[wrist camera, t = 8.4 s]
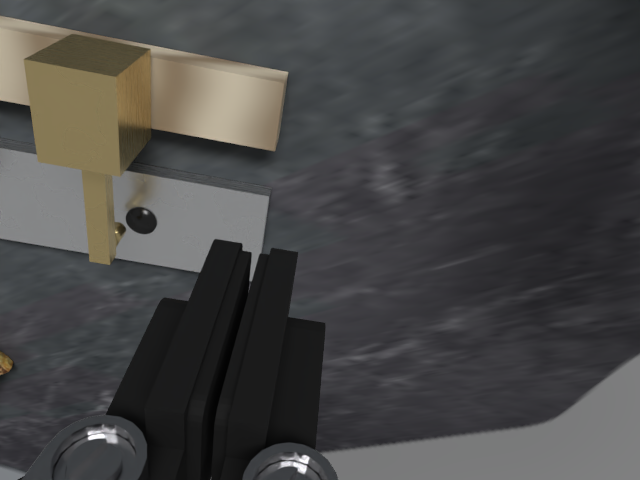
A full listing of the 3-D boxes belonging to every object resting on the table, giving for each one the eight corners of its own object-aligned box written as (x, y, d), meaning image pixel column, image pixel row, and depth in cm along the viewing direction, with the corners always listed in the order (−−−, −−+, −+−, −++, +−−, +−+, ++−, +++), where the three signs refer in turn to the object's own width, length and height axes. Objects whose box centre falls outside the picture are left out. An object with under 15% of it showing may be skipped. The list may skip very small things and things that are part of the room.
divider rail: (289, 63, 29) (277, 99, 24) (264, 237, 36) (250, 294, 31) (-157, -25, 28) (-268, -5, 23) (-96, 174, 34) (-171, 223, 29)
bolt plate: (271, 187, 34) (268, 197, 33) (259, 271, 38) (256, 283, 36) (-114, 117, 32) (-130, 125, 31) (-84, 212, 36) (-98, 222, 35)
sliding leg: (150, 48, 27) (116, 76, 23) (151, 237, 34) (124, 284, 30) (72, 33, 27) (23, 59, 23) (88, 227, 33) (53, 273, 29)
